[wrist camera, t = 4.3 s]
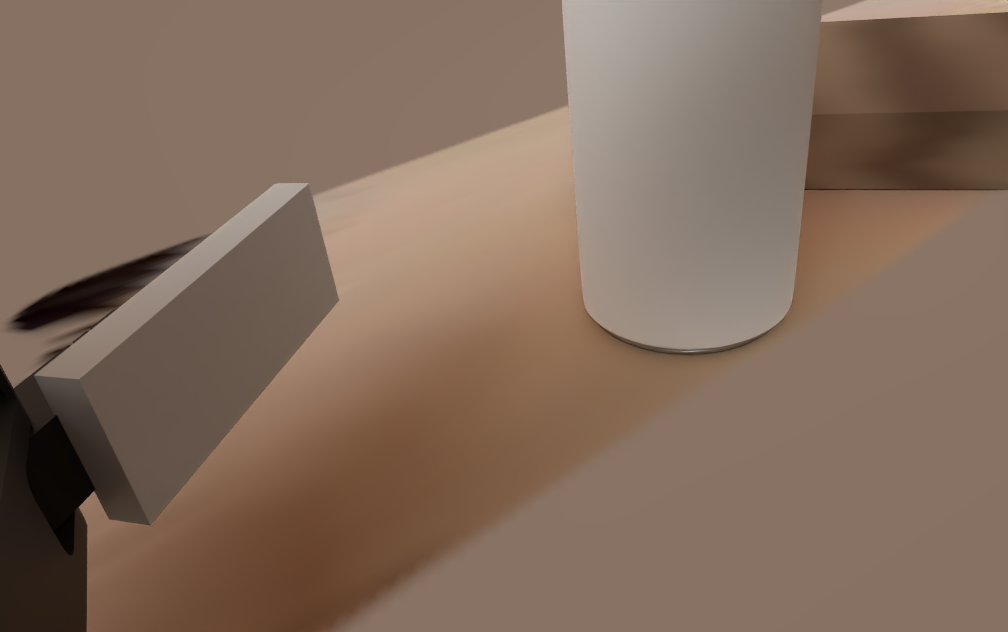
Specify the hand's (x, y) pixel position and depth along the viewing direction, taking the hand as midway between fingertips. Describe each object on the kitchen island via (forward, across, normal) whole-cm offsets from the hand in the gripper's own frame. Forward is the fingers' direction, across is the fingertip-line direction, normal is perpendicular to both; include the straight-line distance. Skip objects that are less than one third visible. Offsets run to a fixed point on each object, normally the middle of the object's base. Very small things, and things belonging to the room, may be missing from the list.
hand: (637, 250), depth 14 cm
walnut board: (+25, +9, -6) cm, 28 cm away
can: (+9, 0, -7) cm, 11 cm away
